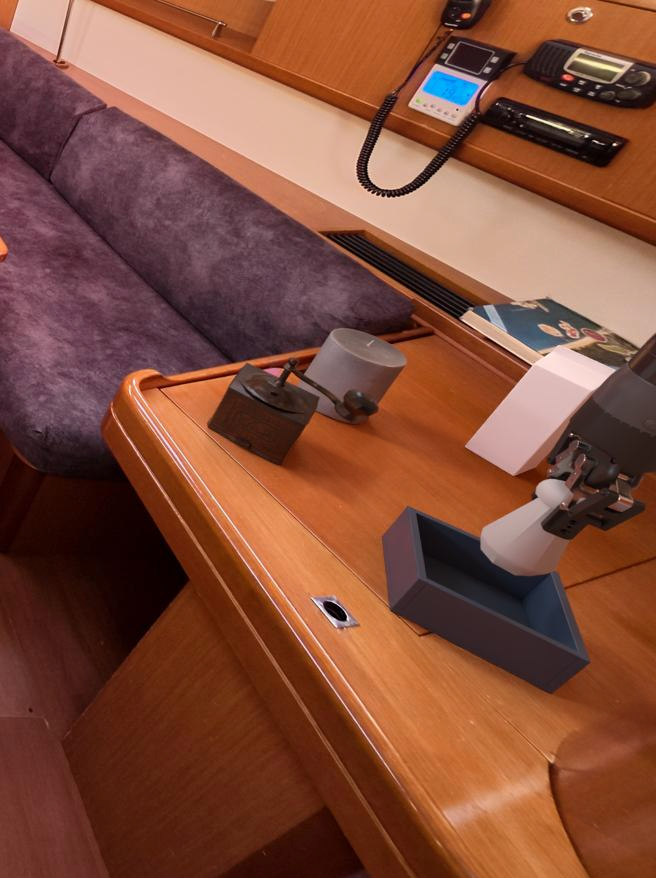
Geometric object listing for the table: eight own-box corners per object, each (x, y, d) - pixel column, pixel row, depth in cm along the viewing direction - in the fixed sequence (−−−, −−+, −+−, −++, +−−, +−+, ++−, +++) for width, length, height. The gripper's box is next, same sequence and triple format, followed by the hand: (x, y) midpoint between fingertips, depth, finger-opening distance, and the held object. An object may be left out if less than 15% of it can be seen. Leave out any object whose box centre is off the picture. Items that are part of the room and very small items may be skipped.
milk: (513, 477, 99) (607, 376, 89) (462, 446, 105) (546, 348, 94) (535, 467, 101) (630, 367, 91) (484, 438, 106) (569, 340, 96)
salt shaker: (539, 594, 73) (615, 525, 67) (468, 555, 77) (533, 486, 71) (543, 565, 76) (616, 496, 70) (474, 529, 80) (537, 461, 74)
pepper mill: (203, 428, 107) (247, 348, 99) (223, 398, 113) (266, 321, 105) (321, 493, 96) (381, 410, 88) (336, 456, 102) (394, 376, 94)
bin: (524, 604, 82) (559, 572, 79) (551, 694, 73) (591, 663, 70) (381, 536, 90) (407, 505, 87) (389, 610, 81) (418, 578, 78)
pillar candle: (333, 384, 117) (374, 322, 110) (382, 426, 108) (430, 362, 101) (280, 382, 117) (318, 320, 110) (325, 424, 108) (369, 359, 101)
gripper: (745, 480, 58) (620, 587, 66) (684, 396, 68) (581, 497, 76) (616, 436, 63) (513, 540, 70) (576, 362, 72) (489, 461, 80)
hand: (548, 518), depth 73 cm, fingers closed on salt shaker, 4 cm apart
